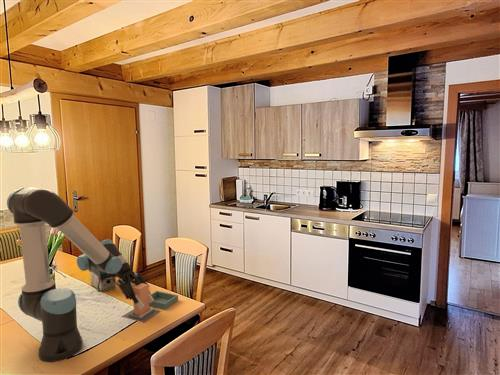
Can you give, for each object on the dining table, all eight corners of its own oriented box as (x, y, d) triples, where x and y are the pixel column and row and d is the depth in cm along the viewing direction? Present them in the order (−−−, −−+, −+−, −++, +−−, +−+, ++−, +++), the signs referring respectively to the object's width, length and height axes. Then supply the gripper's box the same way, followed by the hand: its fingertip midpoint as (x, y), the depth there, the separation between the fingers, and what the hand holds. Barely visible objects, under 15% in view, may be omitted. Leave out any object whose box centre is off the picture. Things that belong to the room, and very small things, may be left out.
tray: (164, 311, 159) (164, 304, 159) (142, 306, 165) (142, 298, 164) (178, 302, 169) (178, 295, 169) (156, 297, 175) (156, 290, 174)
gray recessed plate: (144, 324, 147) (144, 319, 146) (121, 318, 152) (121, 313, 152) (161, 313, 158) (161, 308, 157) (139, 307, 163) (139, 302, 163)
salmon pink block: (140, 317, 151) (139, 289, 150) (134, 315, 153) (133, 287, 151) (149, 311, 157) (148, 284, 155) (142, 310, 158) (142, 283, 157)
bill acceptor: (101, 295, 177) (99, 251, 175) (87, 283, 194) (85, 243, 191) (120, 289, 185) (118, 247, 182) (105, 278, 201) (104, 239, 198)
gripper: (130, 265, 168) (156, 300, 163) (100, 277, 150) (128, 318, 145) (138, 256, 165) (164, 292, 160) (108, 268, 148) (137, 309, 143)
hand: (147, 304), depth 153 cm, fingers closed on salmon pink block, 6 cm apart
